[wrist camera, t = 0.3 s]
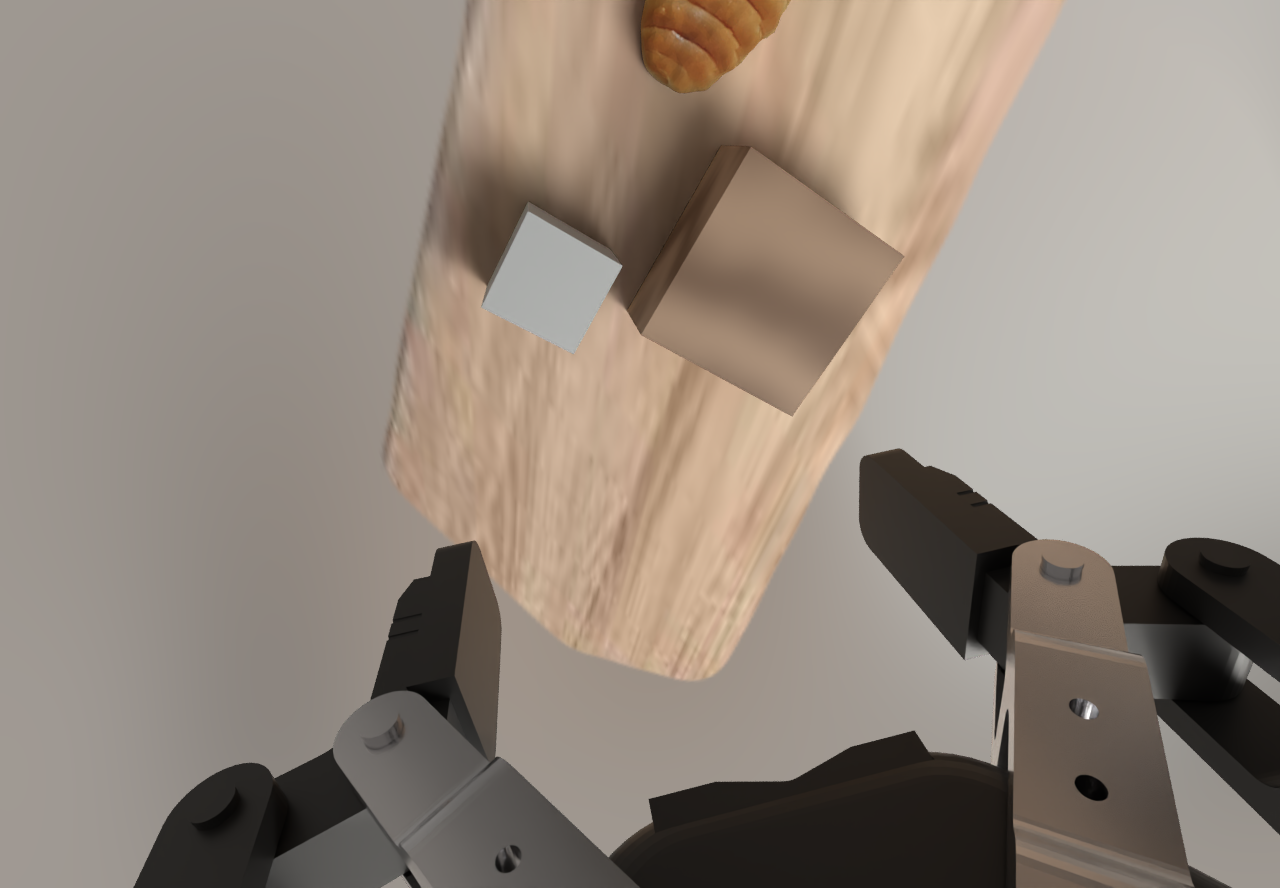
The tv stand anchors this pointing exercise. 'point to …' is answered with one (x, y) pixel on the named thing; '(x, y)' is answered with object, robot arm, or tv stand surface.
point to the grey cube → (551, 279)
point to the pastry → (703, 38)
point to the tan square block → (761, 279)
